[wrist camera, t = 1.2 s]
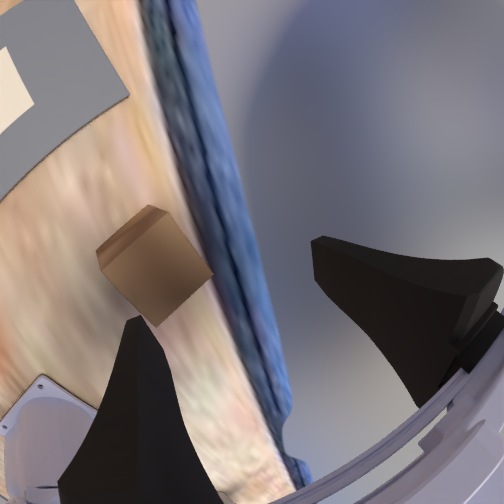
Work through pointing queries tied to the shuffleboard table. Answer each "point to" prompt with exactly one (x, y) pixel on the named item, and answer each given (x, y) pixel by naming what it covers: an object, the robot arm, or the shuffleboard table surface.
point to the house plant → (225, 498)
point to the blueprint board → (48, 83)
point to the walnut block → (153, 264)
